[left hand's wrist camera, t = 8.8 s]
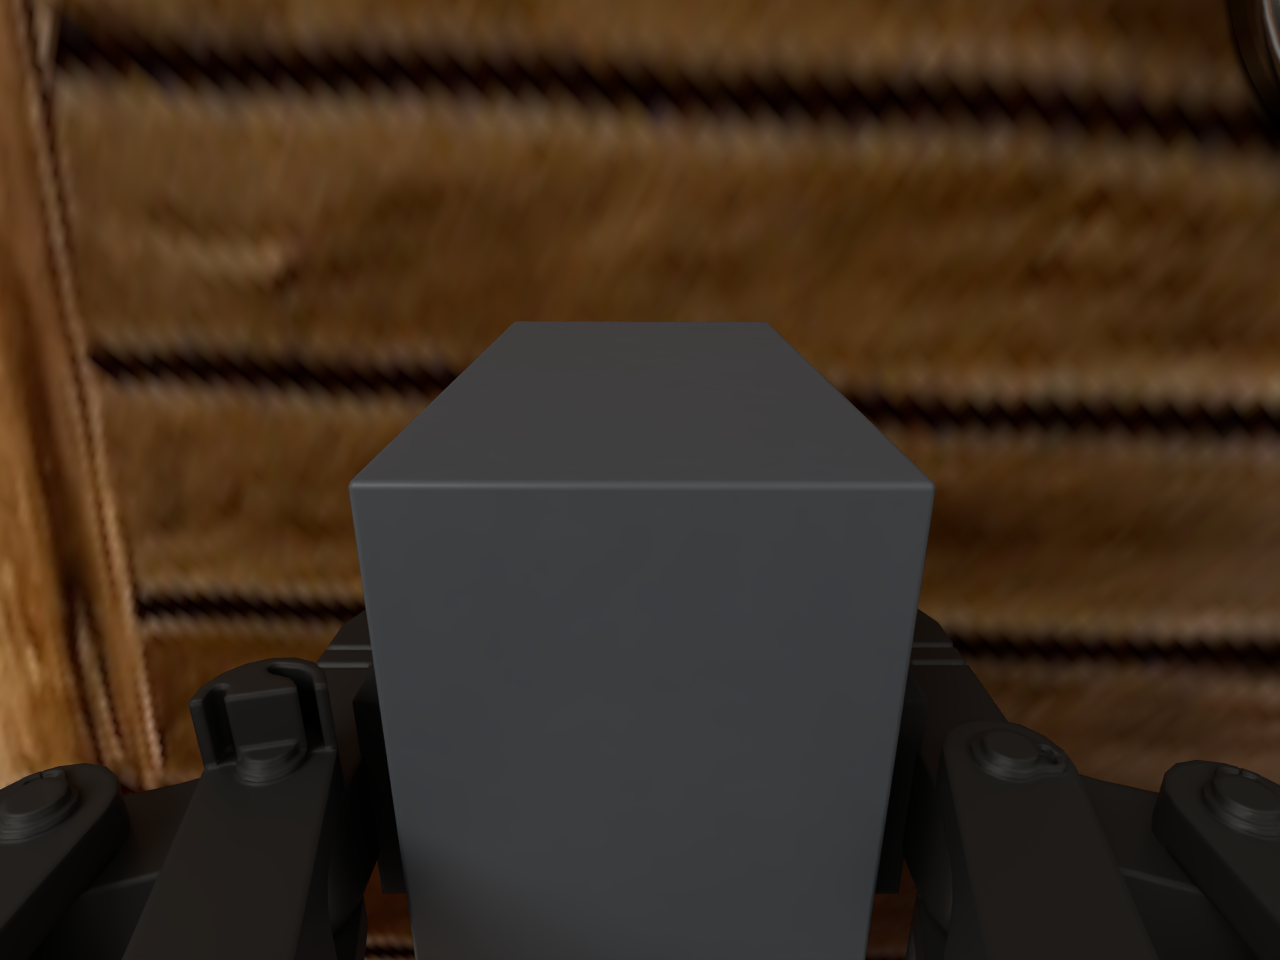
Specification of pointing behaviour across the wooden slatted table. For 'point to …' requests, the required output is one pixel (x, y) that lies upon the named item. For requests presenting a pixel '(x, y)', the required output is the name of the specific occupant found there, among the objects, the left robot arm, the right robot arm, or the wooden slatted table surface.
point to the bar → (641, 647)
